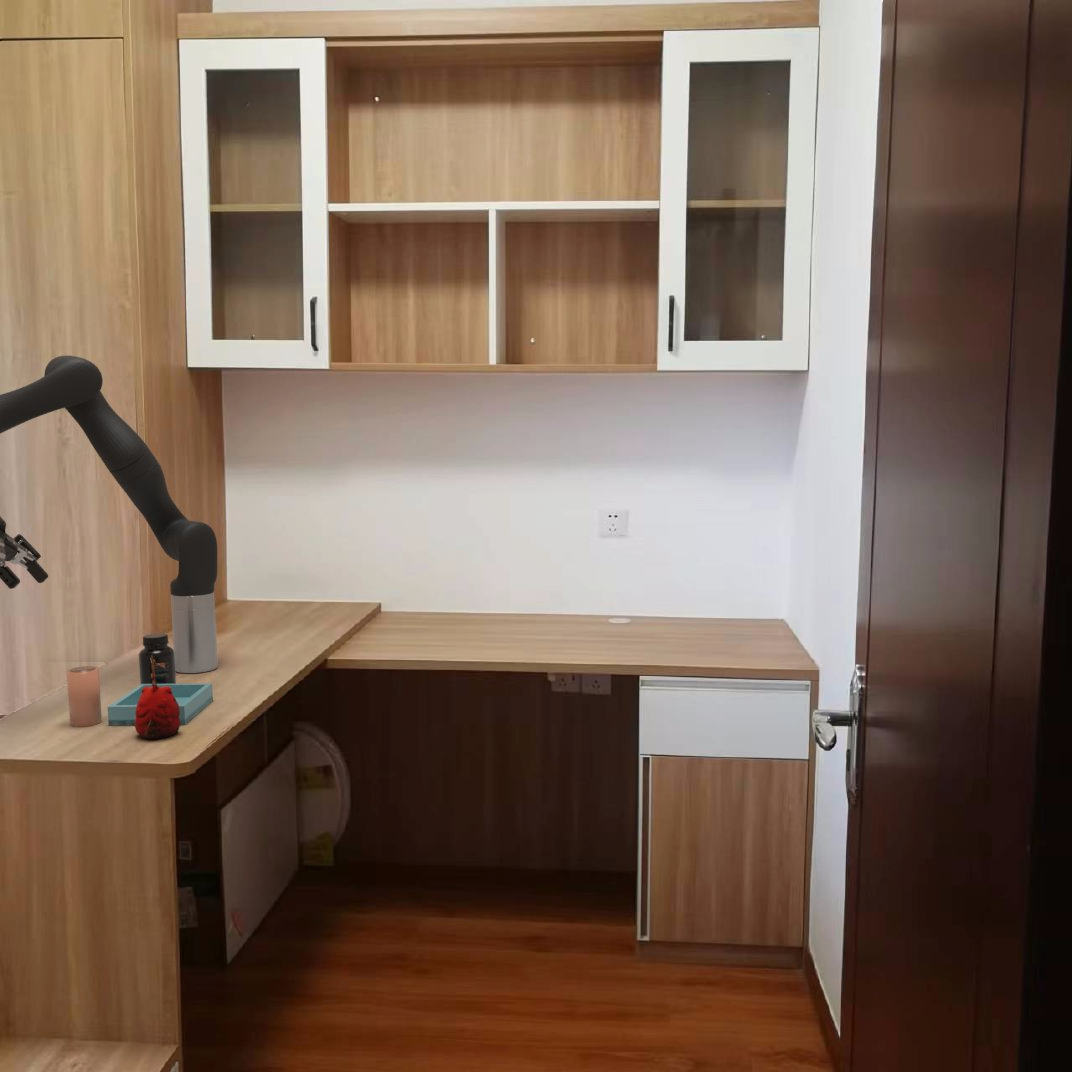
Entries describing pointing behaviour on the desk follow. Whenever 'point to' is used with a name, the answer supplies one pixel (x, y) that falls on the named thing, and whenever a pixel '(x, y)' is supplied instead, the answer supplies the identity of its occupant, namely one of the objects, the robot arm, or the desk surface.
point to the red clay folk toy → (157, 710)
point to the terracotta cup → (84, 696)
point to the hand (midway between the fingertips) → (30, 582)
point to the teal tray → (186, 695)
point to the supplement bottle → (157, 660)
